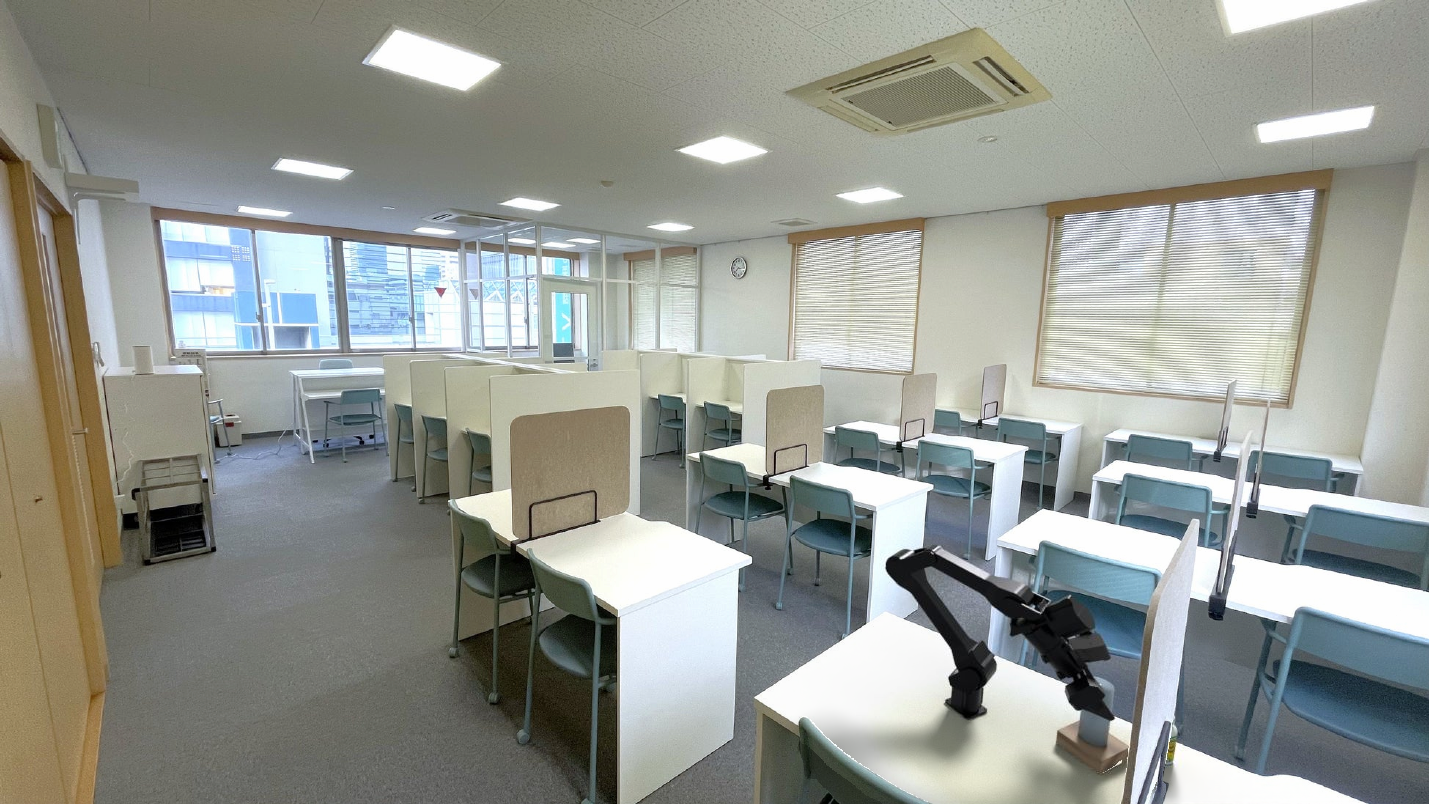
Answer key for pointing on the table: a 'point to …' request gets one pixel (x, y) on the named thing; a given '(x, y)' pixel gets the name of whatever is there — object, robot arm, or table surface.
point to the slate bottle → (1097, 720)
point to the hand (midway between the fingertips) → (1105, 704)
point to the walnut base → (1092, 749)
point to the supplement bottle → (1172, 744)
